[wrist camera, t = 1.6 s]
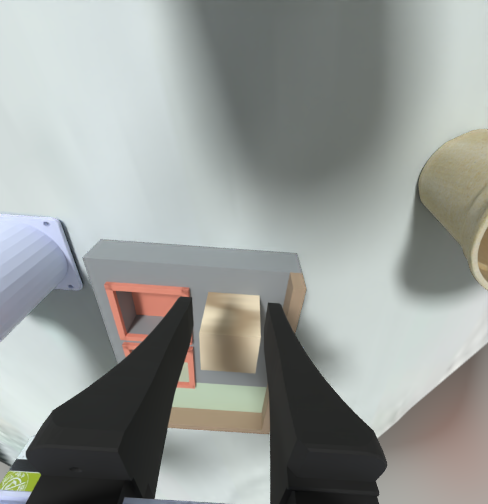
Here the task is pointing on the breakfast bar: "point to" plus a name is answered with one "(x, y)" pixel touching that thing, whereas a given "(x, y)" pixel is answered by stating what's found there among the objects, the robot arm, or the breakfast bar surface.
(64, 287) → the robot arm
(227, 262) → the box
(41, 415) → the breakfast bar surface
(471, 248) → the flower pot
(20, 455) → the tea box
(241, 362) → the maple block
